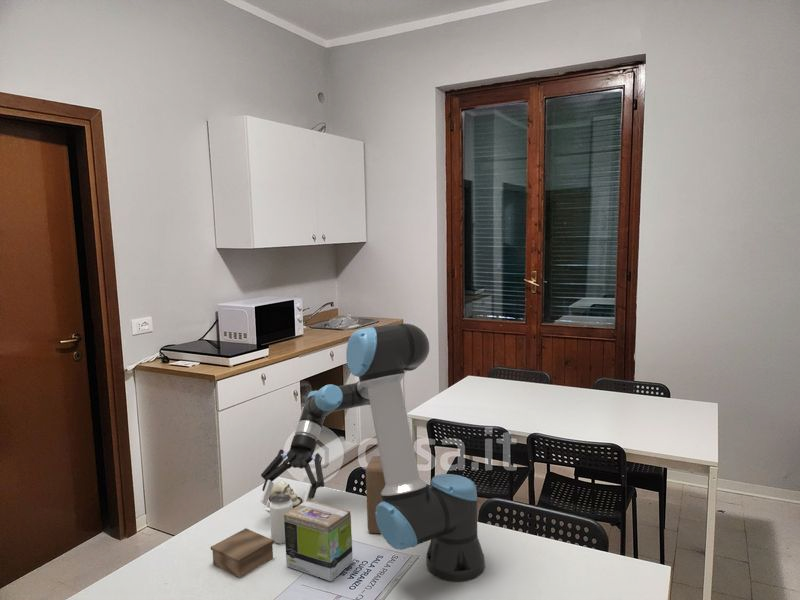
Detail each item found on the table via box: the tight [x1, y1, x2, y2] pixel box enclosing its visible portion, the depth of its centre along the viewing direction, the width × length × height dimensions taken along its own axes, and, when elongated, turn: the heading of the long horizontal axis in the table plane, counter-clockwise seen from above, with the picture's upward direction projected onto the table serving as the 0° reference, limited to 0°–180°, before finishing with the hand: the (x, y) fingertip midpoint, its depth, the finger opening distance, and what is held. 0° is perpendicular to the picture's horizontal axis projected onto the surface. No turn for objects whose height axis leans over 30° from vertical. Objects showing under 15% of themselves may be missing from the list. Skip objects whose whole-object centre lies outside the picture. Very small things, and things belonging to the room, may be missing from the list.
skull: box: [268, 480, 304, 508], centre depth 184 cm, size 12×10×10 cm
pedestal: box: [210, 528, 275, 579], centre depth 152 cm, size 12×12×5 cm
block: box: [365, 455, 385, 534], centre depth 168 cm, size 10×10×20 cm
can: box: [269, 494, 293, 545], centre depth 163 cm, size 6×6×12 cm
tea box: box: [284, 500, 353, 582], centre depth 149 cm, size 15×10×15 cm
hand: (283, 506), depth 166 cm, fingers open, 13 cm apart
